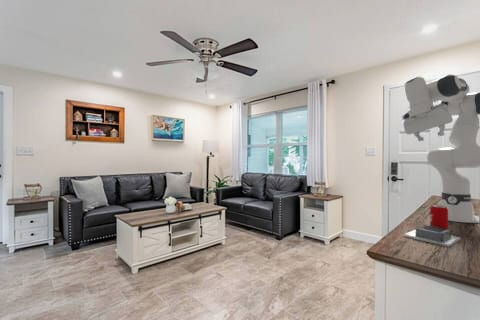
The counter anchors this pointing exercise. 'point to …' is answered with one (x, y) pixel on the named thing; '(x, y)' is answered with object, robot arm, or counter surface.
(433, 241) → the grey socket base
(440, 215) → the beverage can
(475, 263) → the counter surface
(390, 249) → the counter surface
